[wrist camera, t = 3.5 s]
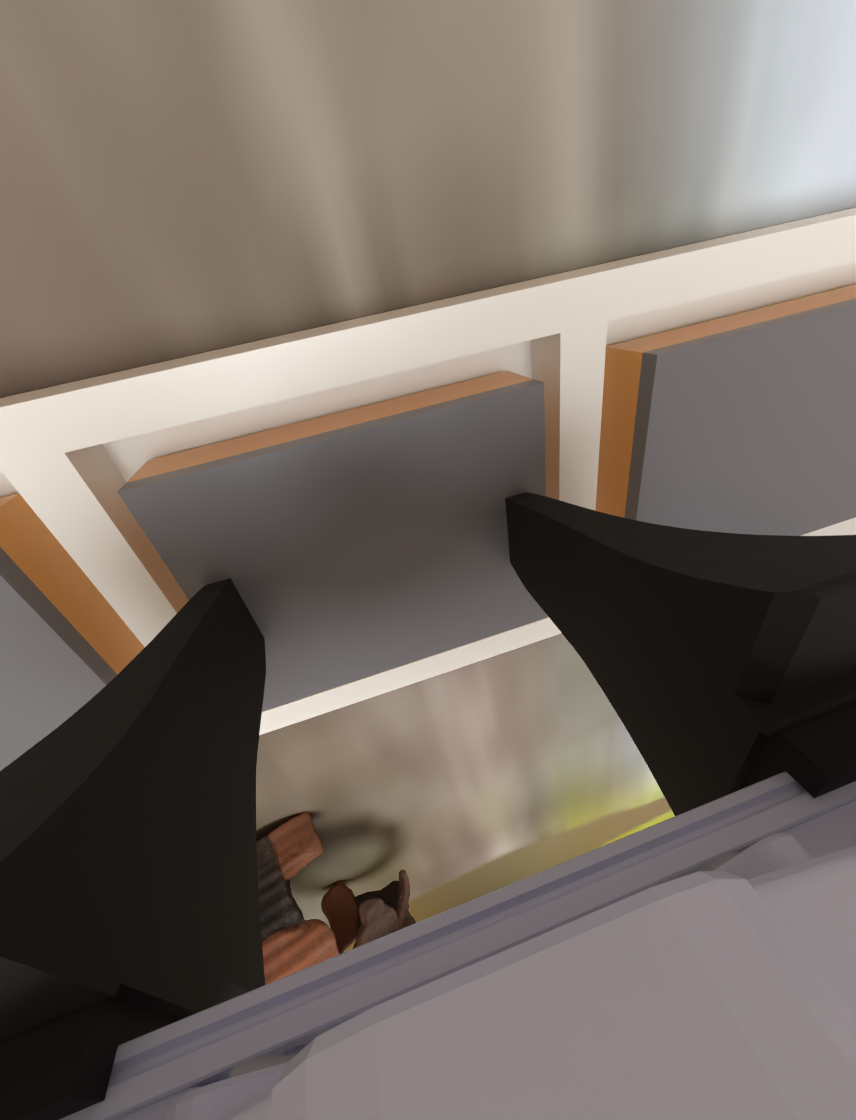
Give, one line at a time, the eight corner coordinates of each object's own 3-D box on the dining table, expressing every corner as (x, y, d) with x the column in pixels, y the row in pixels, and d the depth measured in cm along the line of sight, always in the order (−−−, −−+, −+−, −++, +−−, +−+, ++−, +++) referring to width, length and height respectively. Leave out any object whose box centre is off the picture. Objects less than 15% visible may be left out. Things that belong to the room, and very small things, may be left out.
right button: (883, 277, 12) (973, 273, 11) (801, 495, 16) (857, 516, 15) (604, 347, 11) (657, 354, 9) (591, 561, 15) (626, 593, 13)
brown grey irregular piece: (351, 771, 22) (435, 946, 18) (368, 781, 30) (429, 904, 27) (110, 932, 18) (157, 1186, 15) (203, 894, 26) (248, 1053, 23)
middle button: (507, 370, 11) (544, 382, 9) (520, 582, 15) (547, 617, 13) (147, 460, 10) (117, 492, 8) (267, 662, 14) (262, 711, 12)
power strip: (902, 196, 13) (1043, 172, 10) (791, 501, 19) (864, 531, 17) (-1063, 634, 8) (-1709, 792, 5) (-345, 863, 14) (-486, 986, 11)
